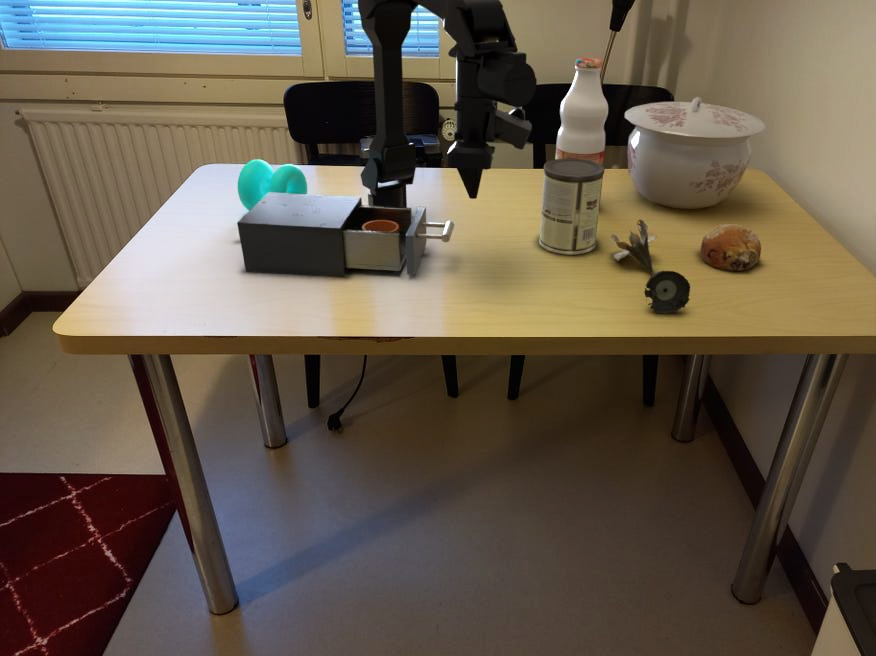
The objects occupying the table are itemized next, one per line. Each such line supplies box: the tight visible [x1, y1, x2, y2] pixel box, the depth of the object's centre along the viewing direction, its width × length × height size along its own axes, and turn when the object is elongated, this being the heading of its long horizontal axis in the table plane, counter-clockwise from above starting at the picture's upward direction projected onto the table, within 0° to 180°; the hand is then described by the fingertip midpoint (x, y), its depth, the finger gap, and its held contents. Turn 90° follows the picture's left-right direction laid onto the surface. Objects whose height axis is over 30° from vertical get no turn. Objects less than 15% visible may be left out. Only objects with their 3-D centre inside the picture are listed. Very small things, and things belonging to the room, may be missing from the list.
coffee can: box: [538, 158, 606, 256], centre depth 120 cm, size 10×10×14 cm
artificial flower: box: [610, 219, 691, 315], centre depth 110 cm, size 9×22×10 cm, turn 179°
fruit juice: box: [554, 57, 609, 166], centre depth 133 cm, size 9×9×28 cm
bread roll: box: [700, 223, 762, 272], centre depth 119 cm, size 10×10×8 cm
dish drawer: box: [342, 204, 455, 276], centre depth 114 cm, size 21×13×7 cm, turn 85°
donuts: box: [237, 158, 308, 212], centre depth 131 cm, size 10×10×10 cm
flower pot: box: [362, 220, 399, 233], centre depth 114 cm, size 6×6×4 cm
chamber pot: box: [624, 96, 767, 210], centre depth 141 cm, size 28×28×21 cm
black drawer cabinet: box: [236, 192, 363, 278], centre depth 115 cm, size 16×14×8 cm
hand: (473, 196), depth 109 cm, fingers closed
